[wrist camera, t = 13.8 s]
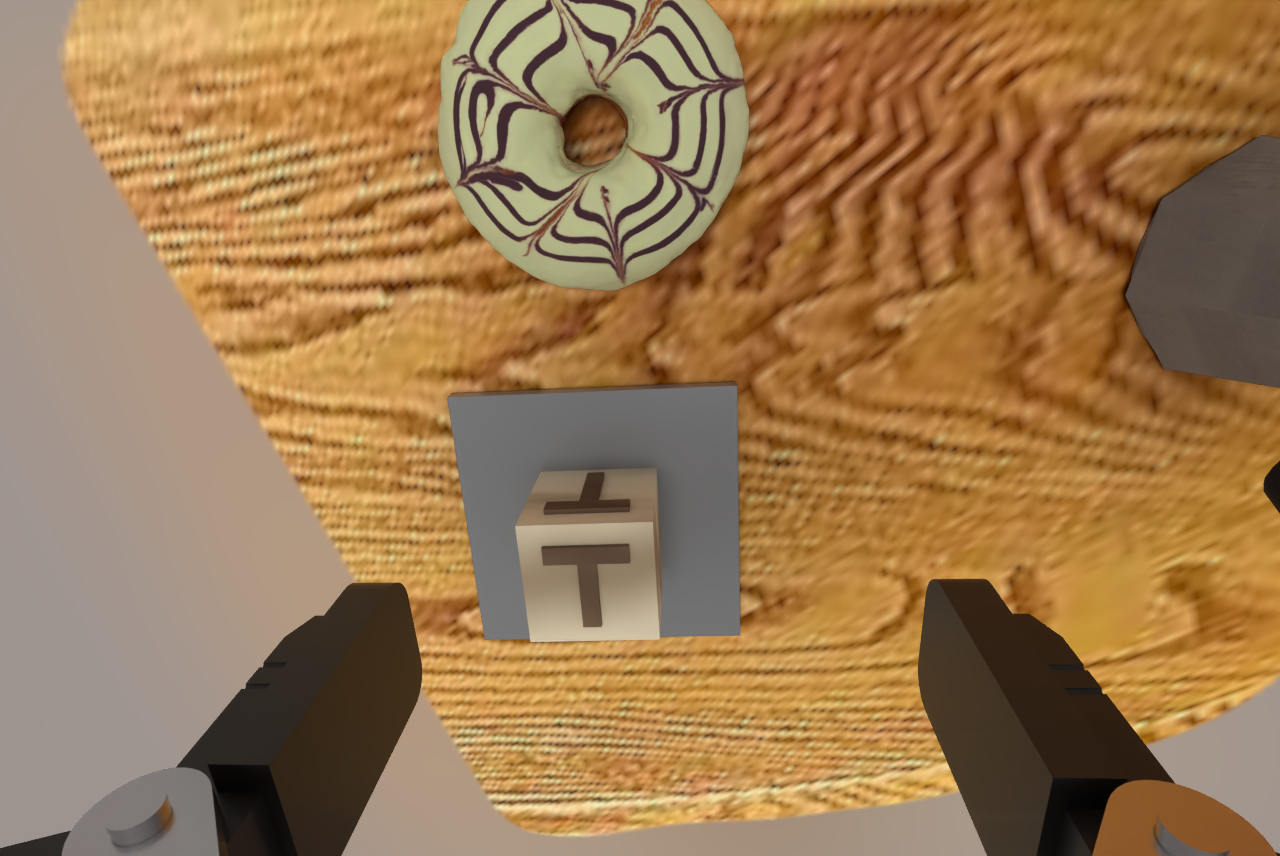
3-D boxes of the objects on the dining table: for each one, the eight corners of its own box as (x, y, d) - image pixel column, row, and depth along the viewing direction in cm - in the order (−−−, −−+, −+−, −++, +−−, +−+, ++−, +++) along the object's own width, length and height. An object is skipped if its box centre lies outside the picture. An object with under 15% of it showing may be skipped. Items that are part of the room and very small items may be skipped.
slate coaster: (736, 381, 29) (737, 385, 28) (739, 627, 33) (740, 635, 32) (451, 393, 30) (447, 397, 29) (488, 632, 34) (485, 639, 33)
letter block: (662, 570, 31) (659, 642, 27) (552, 573, 32) (529, 645, 27) (656, 463, 30) (652, 519, 25) (540, 467, 30) (513, 523, 25)
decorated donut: (414, 191, 27) (374, 193, 24) (537, -98, 24) (512, -145, 20) (646, 325, 29) (641, 346, 25) (795, 69, 25) (814, 52, 22)
